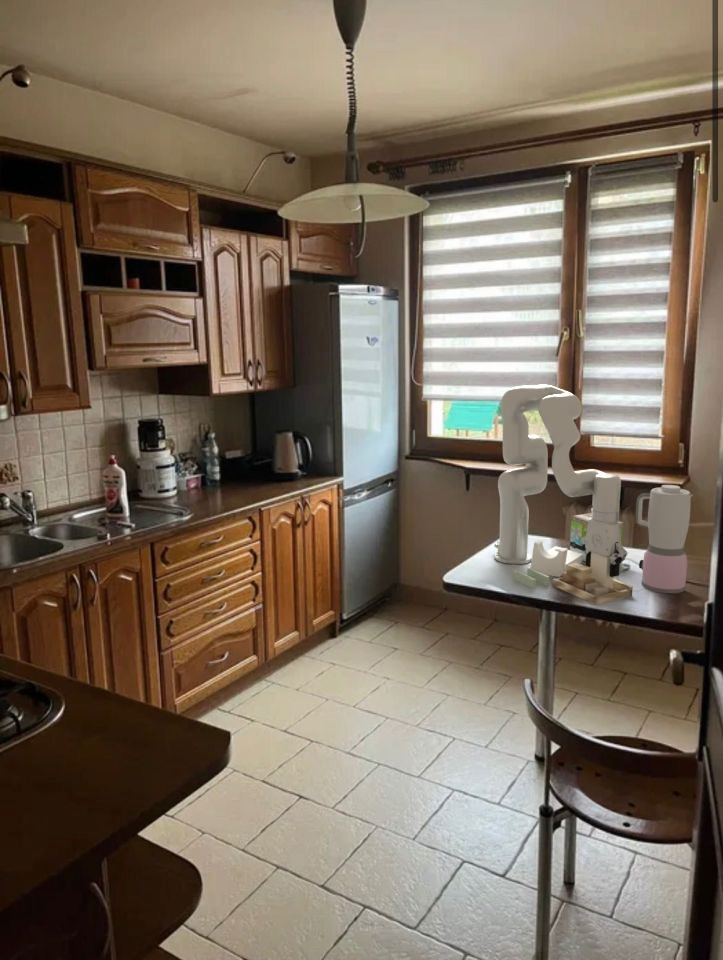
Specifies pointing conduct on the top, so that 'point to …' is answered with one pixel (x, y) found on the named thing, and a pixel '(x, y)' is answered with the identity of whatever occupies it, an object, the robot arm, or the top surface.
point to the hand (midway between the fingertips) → (601, 571)
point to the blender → (665, 538)
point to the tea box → (582, 532)
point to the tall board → (601, 569)
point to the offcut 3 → (596, 589)
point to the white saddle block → (553, 559)
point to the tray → (615, 593)
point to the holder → (531, 578)
